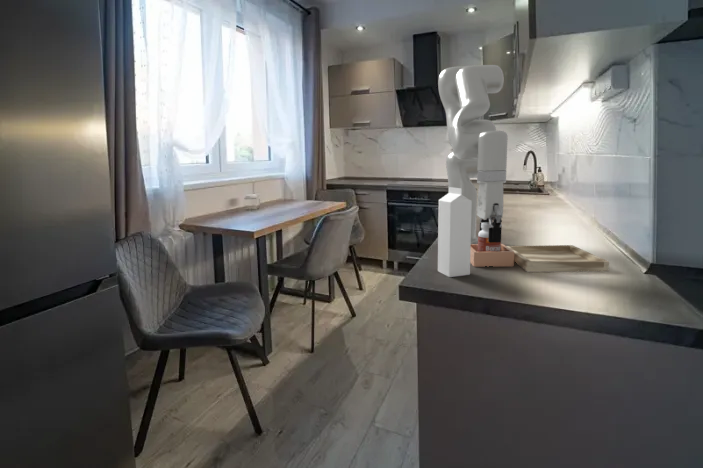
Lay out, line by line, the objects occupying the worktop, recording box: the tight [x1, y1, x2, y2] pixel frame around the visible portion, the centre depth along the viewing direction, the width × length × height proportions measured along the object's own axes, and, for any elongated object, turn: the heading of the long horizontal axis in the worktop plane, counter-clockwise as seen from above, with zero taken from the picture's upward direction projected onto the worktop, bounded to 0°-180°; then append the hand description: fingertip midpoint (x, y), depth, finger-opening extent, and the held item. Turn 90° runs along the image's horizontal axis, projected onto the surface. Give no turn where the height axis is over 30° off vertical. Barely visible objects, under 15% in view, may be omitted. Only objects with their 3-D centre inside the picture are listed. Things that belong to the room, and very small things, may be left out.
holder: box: [470, 243, 515, 268], centre depth 118 cm, size 11×11×4 cm
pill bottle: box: [477, 222, 502, 252], centre depth 117 cm, size 6×6×11 cm
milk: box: [437, 187, 472, 278], centre depth 106 cm, size 6×6×22 cm
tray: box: [506, 244, 610, 273], centre depth 116 cm, size 20×20×2 cm
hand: (489, 239), depth 116 cm, fingers open, 9 cm apart
